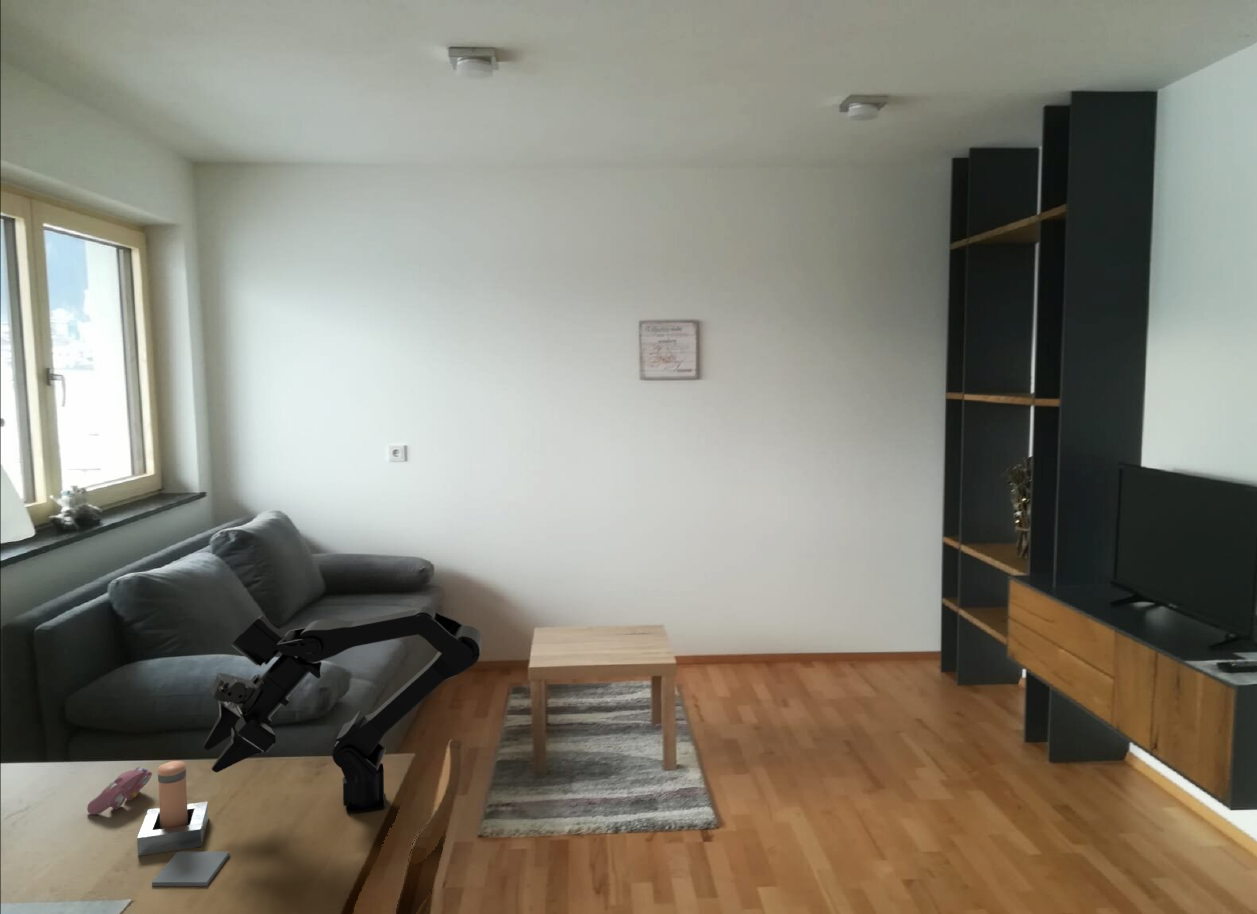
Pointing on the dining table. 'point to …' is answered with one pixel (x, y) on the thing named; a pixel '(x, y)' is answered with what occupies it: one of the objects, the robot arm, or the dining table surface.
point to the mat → (190, 869)
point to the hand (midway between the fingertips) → (209, 759)
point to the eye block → (172, 831)
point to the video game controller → (120, 790)
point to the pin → (172, 794)
